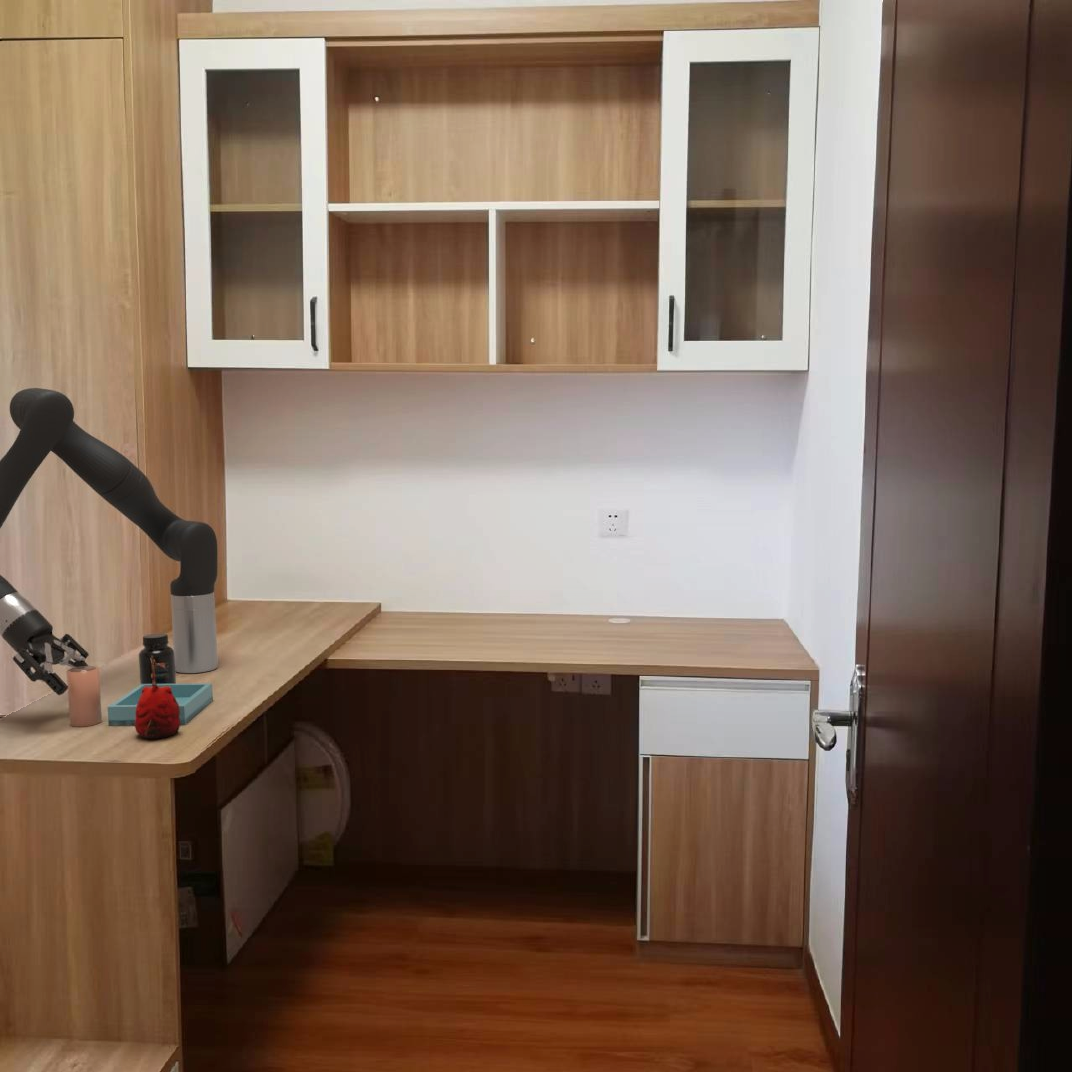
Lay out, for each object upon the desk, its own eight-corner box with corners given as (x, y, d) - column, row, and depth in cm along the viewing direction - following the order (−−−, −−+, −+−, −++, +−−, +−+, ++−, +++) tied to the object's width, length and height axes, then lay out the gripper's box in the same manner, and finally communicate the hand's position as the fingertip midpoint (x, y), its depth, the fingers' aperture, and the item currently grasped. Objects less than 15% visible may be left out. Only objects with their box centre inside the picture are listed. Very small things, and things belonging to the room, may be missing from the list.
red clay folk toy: (184, 728, 182) (180, 647, 181) (176, 740, 176) (172, 656, 174) (140, 730, 181) (135, 648, 180) (130, 742, 174) (125, 657, 173)
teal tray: (142, 701, 200) (141, 683, 200) (212, 700, 200) (212, 683, 200) (108, 725, 184) (107, 706, 184) (185, 724, 184) (184, 706, 184)
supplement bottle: (181, 688, 210) (178, 631, 208) (170, 697, 203) (167, 638, 202) (147, 688, 210) (144, 632, 208) (135, 697, 203) (132, 639, 201)
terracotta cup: (78, 718, 189) (75, 665, 188) (107, 718, 189) (103, 665, 188) (64, 726, 184) (61, 672, 183) (94, 726, 184) (90, 672, 183)
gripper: (4, 616, 179) (66, 682, 178) (55, 602, 193) (114, 662, 192) (-21, 644, 180) (41, 710, 180) (32, 628, 194) (90, 689, 194)
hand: (78, 685), depth 186 cm, fingers open, 8 cm apart
